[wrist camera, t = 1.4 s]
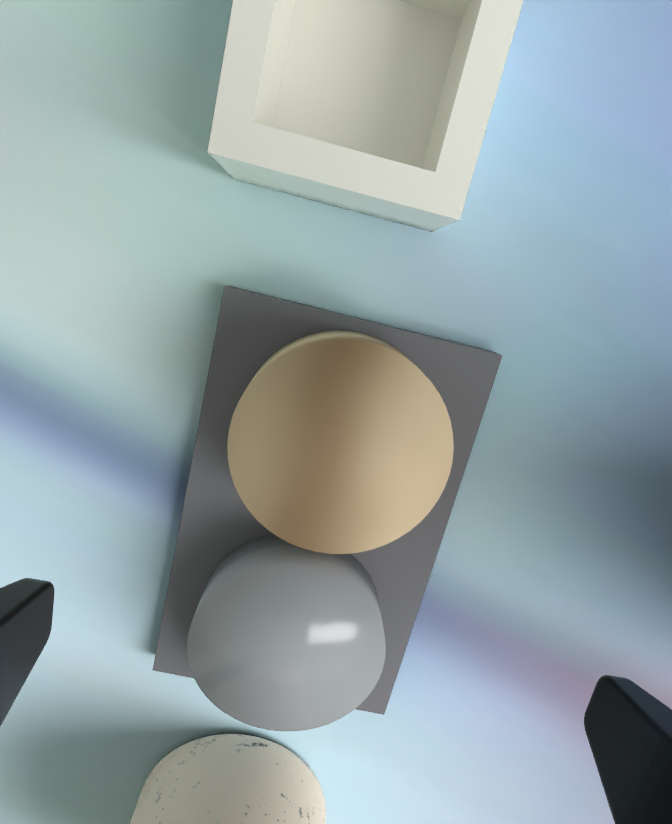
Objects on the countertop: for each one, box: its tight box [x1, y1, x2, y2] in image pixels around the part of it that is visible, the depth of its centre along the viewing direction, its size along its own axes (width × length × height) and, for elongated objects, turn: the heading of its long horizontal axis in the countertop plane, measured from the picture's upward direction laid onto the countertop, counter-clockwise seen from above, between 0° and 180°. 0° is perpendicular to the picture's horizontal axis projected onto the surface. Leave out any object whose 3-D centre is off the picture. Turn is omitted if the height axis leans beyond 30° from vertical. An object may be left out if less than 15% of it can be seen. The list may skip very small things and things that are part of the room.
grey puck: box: [187, 534, 386, 731], centre depth 20 cm, size 7×7×2 cm
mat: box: [153, 286, 502, 714], centre depth 20 cm, size 10×16×1 cm, turn 166°
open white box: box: [208, 0, 523, 232], centre depth 15 cm, size 7×7×4 cm
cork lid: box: [227, 330, 454, 554], centre depth 18 cm, size 7×7×3 cm
